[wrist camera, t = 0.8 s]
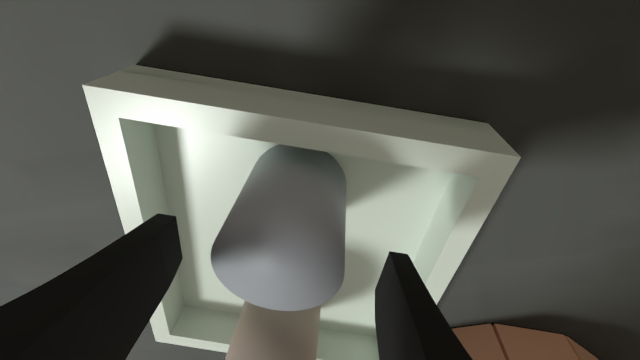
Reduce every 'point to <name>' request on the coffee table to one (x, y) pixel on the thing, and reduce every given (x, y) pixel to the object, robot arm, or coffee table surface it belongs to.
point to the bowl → (518, 344)
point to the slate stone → (285, 231)
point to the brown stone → (275, 334)
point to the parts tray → (305, 132)
